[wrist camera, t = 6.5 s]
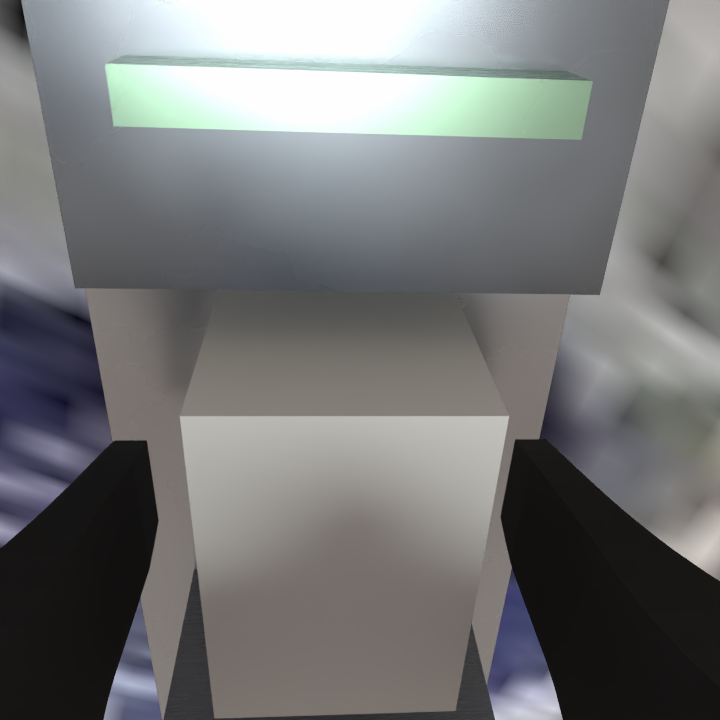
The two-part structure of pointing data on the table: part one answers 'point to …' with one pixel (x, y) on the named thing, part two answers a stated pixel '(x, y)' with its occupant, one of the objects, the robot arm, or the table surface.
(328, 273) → the rail station
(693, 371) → the table surface
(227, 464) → the block
